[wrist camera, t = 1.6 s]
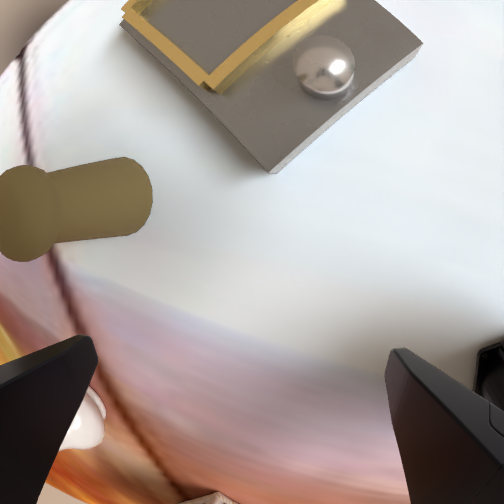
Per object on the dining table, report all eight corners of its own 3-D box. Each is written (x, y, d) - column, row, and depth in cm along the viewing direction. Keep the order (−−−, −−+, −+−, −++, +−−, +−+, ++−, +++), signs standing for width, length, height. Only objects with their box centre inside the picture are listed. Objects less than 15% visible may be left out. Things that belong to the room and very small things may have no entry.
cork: (85, 214, 23) (-25, 241, 13) (106, 146, 21) (-14, 144, 11) (137, 249, 22) (21, 299, 12) (164, 176, 20) (35, 185, 10)
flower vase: (106, 455, 33) (8, 562, 9) (31, 345, 31) (-105, 433, 7) (170, 459, 28) (59, 613, 5) (77, 323, 27) (-115, 450, 3)
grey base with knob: (413, 58, 14) (432, 29, 10) (276, 173, 18) (259, 172, 14) (247, -59, 14) (229, -92, 10) (137, 35, 18) (102, 16, 14)
